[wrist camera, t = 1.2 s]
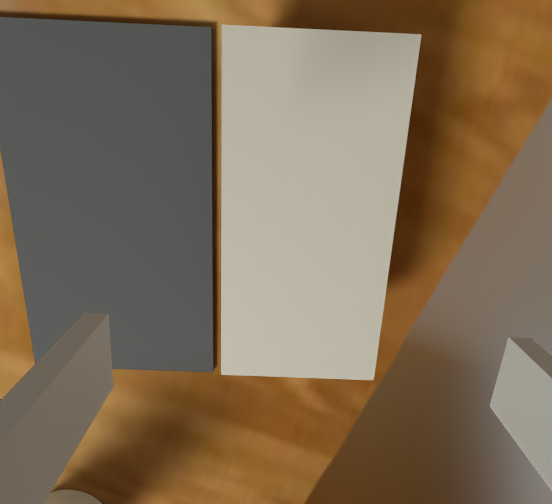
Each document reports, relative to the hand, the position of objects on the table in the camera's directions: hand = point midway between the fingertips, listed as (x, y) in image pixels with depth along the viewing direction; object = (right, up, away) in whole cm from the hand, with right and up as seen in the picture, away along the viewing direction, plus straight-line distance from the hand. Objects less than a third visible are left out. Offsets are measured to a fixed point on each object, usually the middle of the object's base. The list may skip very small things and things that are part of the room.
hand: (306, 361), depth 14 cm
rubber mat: (-14, +6, +20) cm, 25 cm away
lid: (+1, +6, +15) cm, 16 cm away
